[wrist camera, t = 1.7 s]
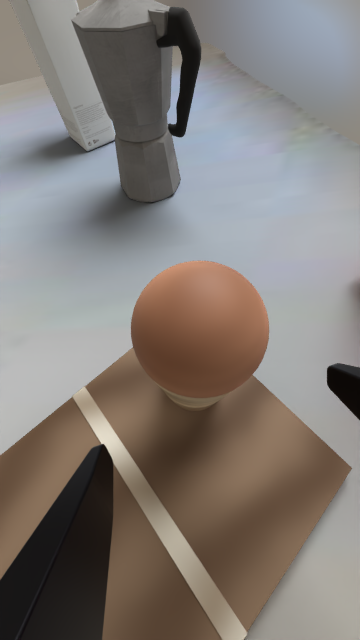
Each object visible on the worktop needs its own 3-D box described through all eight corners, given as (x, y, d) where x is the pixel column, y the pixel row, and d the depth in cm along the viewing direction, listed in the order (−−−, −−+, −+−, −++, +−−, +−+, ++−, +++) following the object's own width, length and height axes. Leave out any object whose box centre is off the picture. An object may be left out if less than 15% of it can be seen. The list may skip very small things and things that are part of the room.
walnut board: (342, 465, 15) (353, 468, 14) (93, 843, 10) (82, 891, 9) (181, 312, 22) (181, 307, 21) (-27, 484, 16) (-41, 488, 15)
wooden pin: (235, 381, 17) (336, 294, 5) (192, 425, 16) (200, 441, 4) (194, 341, 19) (201, 206, 7) (153, 378, 18) (76, 290, 6)
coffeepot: (101, 184, 33) (13, -46, 16) (142, 157, 36) (101, -61, 19) (174, 224, 28) (151, -47, 12) (215, 189, 31) (242, -66, 15)
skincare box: (117, 140, 39) (75, -18, 25) (85, 153, 37) (21, -8, 23) (96, 125, 42) (49, -23, 28) (67, 136, 40) (1, -15, 26)
